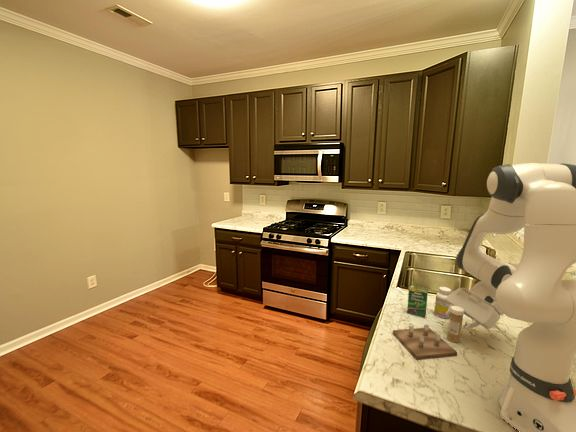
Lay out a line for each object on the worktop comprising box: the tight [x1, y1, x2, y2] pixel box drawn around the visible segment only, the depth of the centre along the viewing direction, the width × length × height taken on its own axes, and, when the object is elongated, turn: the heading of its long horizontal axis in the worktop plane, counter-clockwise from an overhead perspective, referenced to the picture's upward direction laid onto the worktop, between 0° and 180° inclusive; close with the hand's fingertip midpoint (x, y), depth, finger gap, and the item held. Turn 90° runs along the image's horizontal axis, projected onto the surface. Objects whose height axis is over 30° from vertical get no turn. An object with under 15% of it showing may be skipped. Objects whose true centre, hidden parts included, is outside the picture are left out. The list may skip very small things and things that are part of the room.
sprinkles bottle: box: [446, 306, 465, 344], centre depth 109 cm, size 5×5×13 cm
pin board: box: [392, 324, 458, 361], centre depth 107 cm, size 16×16×6 cm
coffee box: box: [406, 285, 429, 318], centre depth 128 cm, size 8×3×13 cm, turn 57°
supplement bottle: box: [434, 286, 452, 319], centre depth 128 cm, size 7×7×13 cm
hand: (456, 321), depth 109 cm, fingers open, 8 cm apart
